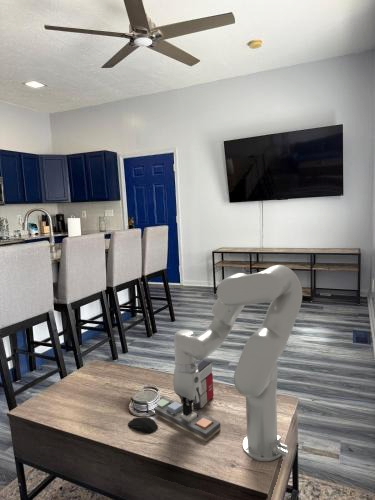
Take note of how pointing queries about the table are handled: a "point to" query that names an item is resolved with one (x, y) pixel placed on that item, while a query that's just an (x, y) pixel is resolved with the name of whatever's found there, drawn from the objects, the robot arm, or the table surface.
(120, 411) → the table surface
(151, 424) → the gaming mouse
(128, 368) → the table surface
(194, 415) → the key ivory
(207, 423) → the key terracotta
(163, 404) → the key sage
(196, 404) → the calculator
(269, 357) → the robot arm
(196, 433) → the keypad
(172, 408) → the key slate
